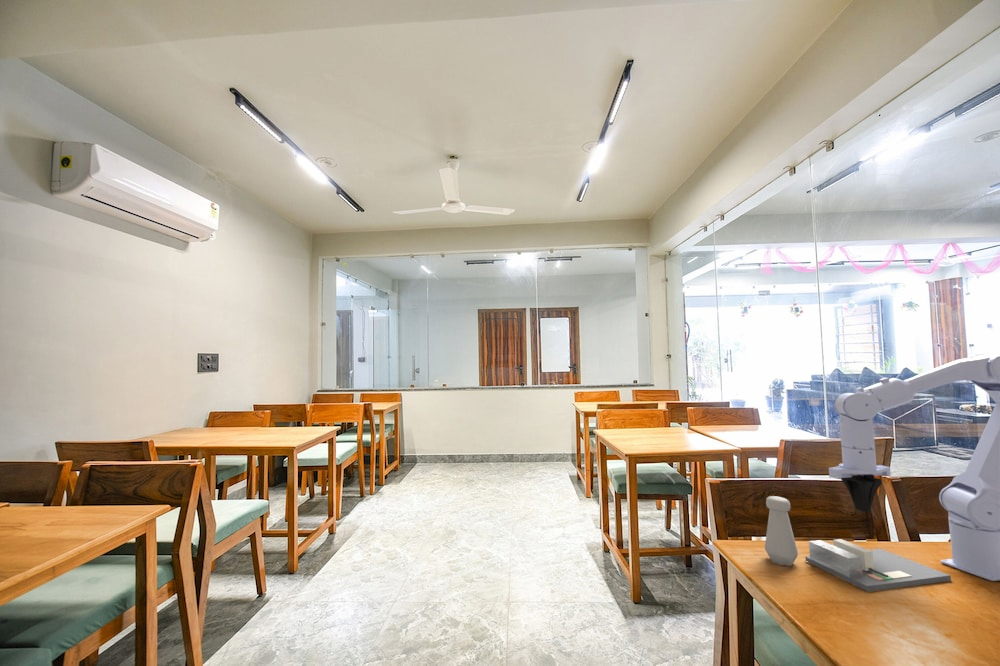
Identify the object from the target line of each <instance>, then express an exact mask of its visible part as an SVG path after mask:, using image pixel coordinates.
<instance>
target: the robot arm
mask: <svg viewBox="0 0 1000 666" xmlns="http://www.w3.org/2000/svg"><path fill="white" fill-rule="evenodd" d="M878 381H879V382H878V383H874V384H872V385H868V386H867V387H861V386H860V387H857V388H855V391H856V392H854V393H853V392H845V393H842V394H840V395H838V397H837V398H836V399H835V401H834V403H833V409H834V411H835V412H836V413H837V414H838V415H839V431H840V432H839V434H840V445H841V447H840V448H841V449H840V450H841V458H842V461H841V462H842V463H839V464H838V465H837V466H834V467H828V477H829V478H833V479H837V480H841V482H842V483H843V484H844V485H845V487H846V489H847V490H848V494H849V495H850V497H851V499H852V502H853V505H854V508H855V510H858V511H861V512H865V513H867V512H869V513H870V512H871V510H872V505H873V501H874V497H875V495H876V493H877V491H878V489H879V488H880V487H881V485H883V483H882V481H883V480H882V479H881V478H877V477H878V476H879V477H880V476H884V477H885V476H886V477H890V476H891V467H890V466H885V465H882V464H878V465H877V455H876V443H875V432H874V421H873V419H874V418H875V417H876V415H877V414H879V413H883V412H885V411H888V410H891V409H894V408H898V407H901V406H902V405H905V404H908V403H911V402H913V401H914V397H915V395H917V394H918V393H922V392H923V393H924V392H925V391H928V390H933V389H935V388H938V387H942V386H946V385H948V384H953V383H955V382H959V381H969V382H970V383H972V384H974V386H975V385H976V386H977V387H978V388H980V389H981V390H983V391H984V392H985V393H987V394H988V395H989V397H990V398H991V399H992V400H993V401H994V402H995V406H994V407H993V410H992V412H991V414H990V416H989V419H988V420H987V423H986V425H985V428H984V429H983V431H982V434H981V436H980V439H979V441H978V443H977V445H976V448H975V449H974V450H973V451H974V452H973V453H972V455H971V458H970V460H969V462H968V465H967V466H966V468H965V471H964V472H962V473H960V474H958V475H955V476H954V477H953V478H952V481H951V482H950V483H949V484H948V485H946V486H945V487H943V488H942V489H941V490H940V492H939V496H938V499H939V502H940V504H941V506H942V507H943V508H944V509H945V510H946V511H947V512H948V516H947V517H948V529H949V539H950V547H951V549H950V550H951V556H952V558H947V559H946V558H945V559H940V563H941V564H945V565H947V566H949V567H952V568H955V569H957V570H960V571H963V572H966V573H969V574H971V575H974V576H977V577H979V578H983V579H985V580H988V581H991V582H996V581H1000V354H999V353H997V354H974V355H970V356H968V357H967V358H966V357H965V358H959V359H956V360H953V361H950V362H948V363H947V362H946V363H944V364H943V365H940V366H937V367H935V368H932V369H930V370H927V371H925V372H922V373H919V374H917V375H915V376H912V377H909V378H907V379H904V380H903V379H899V378H896V377H892V378H891V377H890V378H889V377H883V378H880V379H878ZM876 476H877V477H876Z"/></svg>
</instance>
